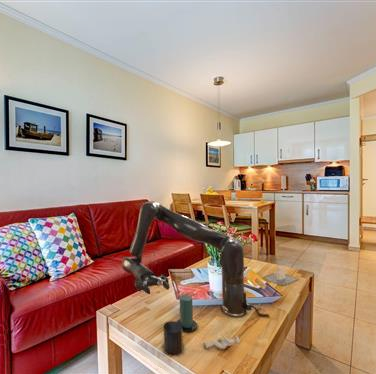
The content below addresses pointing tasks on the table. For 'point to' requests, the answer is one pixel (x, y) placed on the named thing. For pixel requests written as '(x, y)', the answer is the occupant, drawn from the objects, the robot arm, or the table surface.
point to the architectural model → (280, 277)
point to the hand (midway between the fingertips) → (159, 289)
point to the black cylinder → (173, 338)
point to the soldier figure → (224, 342)
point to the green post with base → (186, 314)
